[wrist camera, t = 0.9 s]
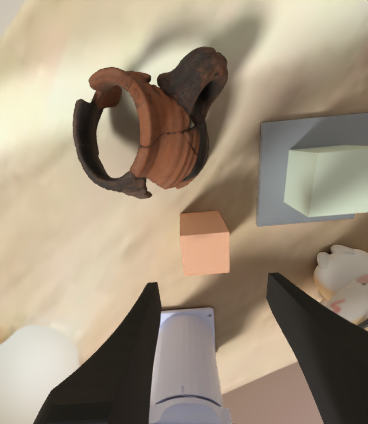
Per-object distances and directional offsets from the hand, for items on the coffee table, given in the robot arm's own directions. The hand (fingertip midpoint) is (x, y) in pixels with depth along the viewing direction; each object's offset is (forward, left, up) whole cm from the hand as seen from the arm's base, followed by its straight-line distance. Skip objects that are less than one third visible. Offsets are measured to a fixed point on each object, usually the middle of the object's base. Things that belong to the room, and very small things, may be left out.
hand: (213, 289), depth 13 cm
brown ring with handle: (+10, +3, -9) cm, 14 cm away
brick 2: (+5, -11, -8) cm, 15 cm away
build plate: (+5, -11, -9) cm, 15 cm away
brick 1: (0, 0, -9) cm, 9 cm away
